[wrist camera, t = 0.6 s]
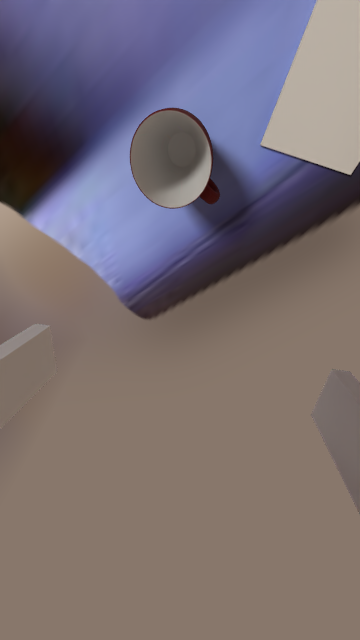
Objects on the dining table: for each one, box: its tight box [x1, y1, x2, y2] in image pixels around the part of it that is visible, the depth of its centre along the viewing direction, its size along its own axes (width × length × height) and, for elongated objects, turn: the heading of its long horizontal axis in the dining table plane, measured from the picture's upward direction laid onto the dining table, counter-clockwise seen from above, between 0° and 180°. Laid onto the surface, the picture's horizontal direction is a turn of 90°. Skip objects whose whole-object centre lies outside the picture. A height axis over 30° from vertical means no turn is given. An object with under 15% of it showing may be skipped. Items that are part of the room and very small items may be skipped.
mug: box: [130, 108, 220, 208], centre depth 26 cm, size 11×8×10 cm
